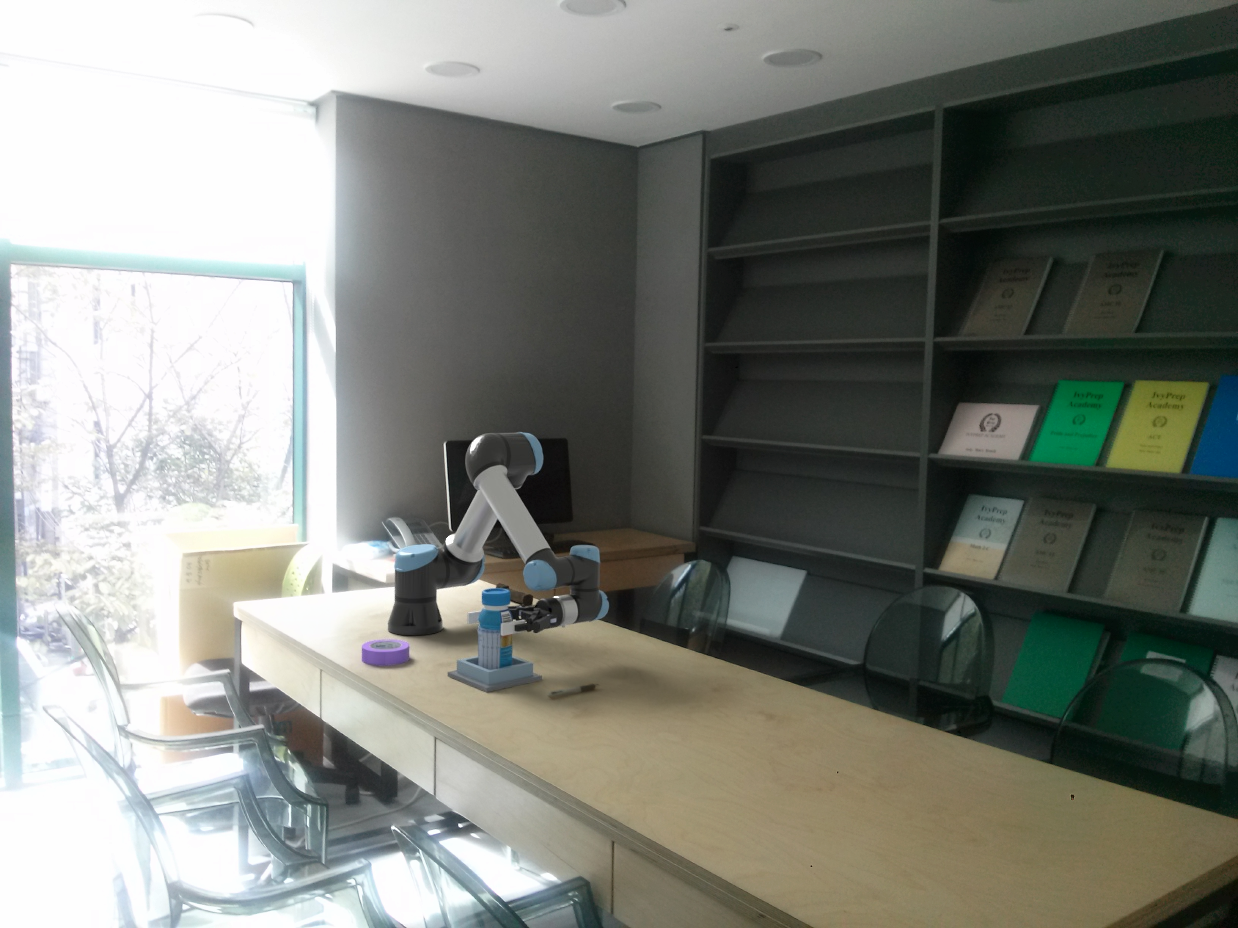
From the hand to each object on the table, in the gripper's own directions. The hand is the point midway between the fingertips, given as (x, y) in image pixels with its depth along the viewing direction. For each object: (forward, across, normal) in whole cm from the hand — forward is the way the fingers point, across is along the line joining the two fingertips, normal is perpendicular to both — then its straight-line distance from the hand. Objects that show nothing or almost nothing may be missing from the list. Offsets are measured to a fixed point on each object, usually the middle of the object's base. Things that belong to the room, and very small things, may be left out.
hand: (484, 623), depth 238 cm
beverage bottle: (-3, 0, -13) cm, 13 cm away
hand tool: (-58, +67, -14) cm, 90 cm away
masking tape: (+9, +30, -14) cm, 34 cm away
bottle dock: (-3, 0, -14) cm, 14 cm away
